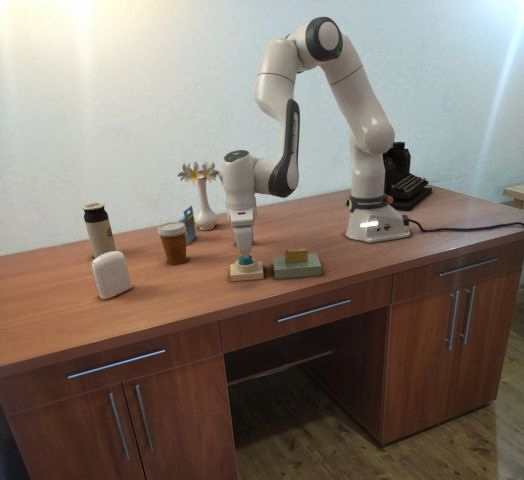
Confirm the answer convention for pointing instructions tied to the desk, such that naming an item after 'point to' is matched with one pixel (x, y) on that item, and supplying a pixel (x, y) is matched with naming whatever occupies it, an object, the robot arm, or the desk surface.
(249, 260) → the teal push button
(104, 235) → the travel mug
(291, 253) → the yellow block red tip
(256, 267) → the cream button base
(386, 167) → the typewriter
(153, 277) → the desk surface
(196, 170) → the flower vase
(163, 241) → the disposable coffee cup
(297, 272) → the plate
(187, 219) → the label tape box
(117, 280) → the photo printer
